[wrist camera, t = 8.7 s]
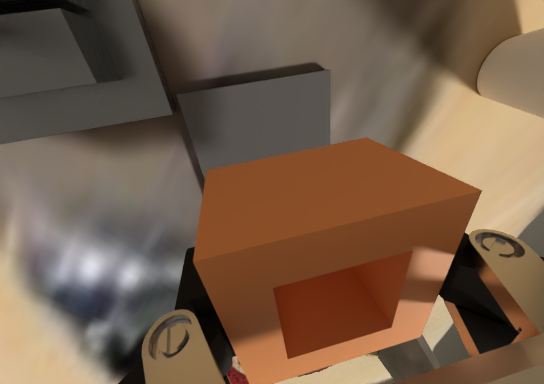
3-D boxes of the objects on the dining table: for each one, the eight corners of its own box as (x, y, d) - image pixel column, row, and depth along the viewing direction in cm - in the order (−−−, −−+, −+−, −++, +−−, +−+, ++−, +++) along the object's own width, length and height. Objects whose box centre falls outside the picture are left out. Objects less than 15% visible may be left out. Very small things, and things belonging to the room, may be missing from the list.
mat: (325, 69, 15) (330, 69, 14) (325, 192, 20) (329, 196, 19) (178, 93, 14) (176, 95, 13) (218, 216, 19) (218, 221, 18)
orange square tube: (366, 137, 9) (482, 190, 5) (356, 251, 12) (420, 337, 8) (206, 170, 8) (192, 261, 4) (242, 281, 11) (252, 390, 7)
